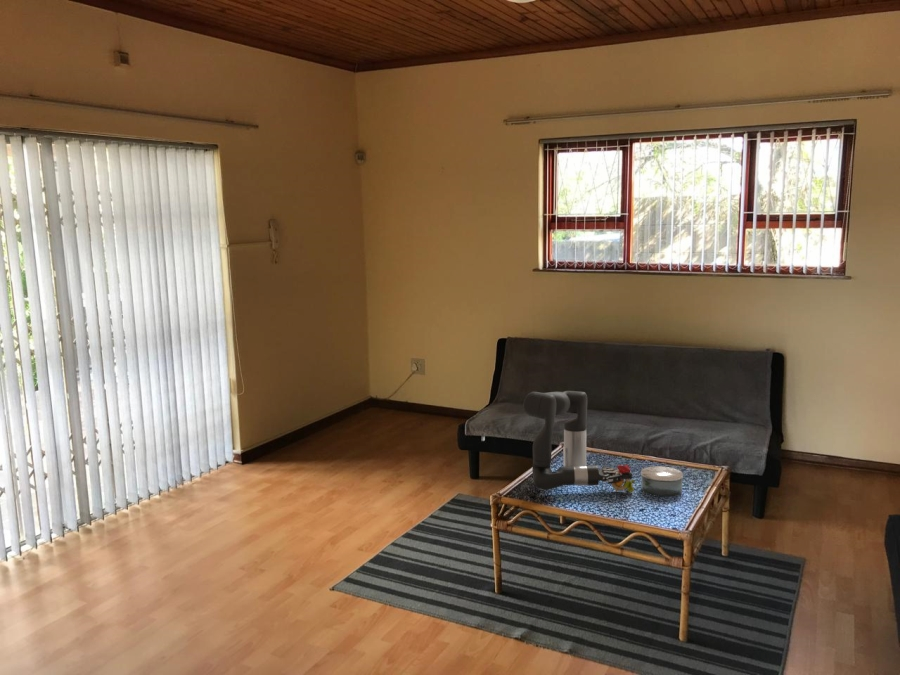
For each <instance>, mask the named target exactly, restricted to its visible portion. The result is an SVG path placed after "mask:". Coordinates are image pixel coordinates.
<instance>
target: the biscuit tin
mask: <svg viewBox="0 0 900 675" xmlns="http://www.w3.org/2000/svg"><path fill="white" fill-rule="evenodd" d="M640 474H641V485H640V486H641V491H642V492H643V491H644V492H643V493H644V494H646V495H649V494H651V495H650V496H653V495H655V496H654V497H659V496H661V498H671V497H673V498H674V497H678V496H680V495H681V494H682V493H683V477H684V473H683V472H682V470H679V469H677V468H674V467H668V466H661V465H659V466H648V467H643V468H642V469H641V471H640Z"/></svg>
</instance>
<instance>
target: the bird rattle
mask: <svg viewBox="0 0 900 675" xmlns="http://www.w3.org/2000/svg"><path fill="white" fill-rule="evenodd" d="M616 468H617V470H619V472H616V473H629V472H630V473H631V469H630V467H629V465H628V464H625V465H621V464H620V465H619V464H618V465H617V466H616ZM617 478H618V477H617ZM635 482H636V481H635V480H634V479H632V480H630V479H622V480H621V482H616V483H612V484H610V485H611V487H612V488H613V489H614V491H615V492H616V491H617V492H619V491H625V490H626V489H627V492H628V493H630V492H631V493H632V492H634V491H635V489H634V487H633V484H635Z"/></svg>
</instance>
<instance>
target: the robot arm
mask: <svg viewBox="0 0 900 675" xmlns="http://www.w3.org/2000/svg"><path fill="white" fill-rule="evenodd" d="M588 399H589V398H588V395H587V393H586V392H585V391H575V390H564V391H550V392H538V391H531V392H529V393H528V394H526V396H525V398H524V400H523V403H522V405H523V406H522V407H523V411H524V412H525V414H526V415H527V416H529V417H532V418H538V419H543V420H544V425H543V427H542V429H541V430H540V431H539V432H538V434H537V435H536V437H535V438H534V439H533V443H532V479H533V484H534V486H535V487H536V488H538V489H540V490H551V489H555V488H559V487H562V486H580V487H582V486H599V484H600V481H601V482H604V483H605V482H606V483H607V484H608V485H611V484H612V483H616V482H621V480H622V479H624V480H625V479H629V480H630V479H632V478H633V474H632V472H631V471H630V472H629V473H616V472H619V470H618V468H617V467H610V466H609V467H608V466H602V467H601V468H600V469H599V467H598V465H597V464H596V465H595V464H593V465H589V464H588V465H587V425H588V424H587V421H588ZM566 413H568V414H577V416H576V417H575V418H572V419H568V420H565V422H564V423H563V445H562V446H563V449H562V450H563V451H562V454H563V455H562V456H563V457H562V458H563V461H562V462H563V466H564V467H563V466H560V467H558V469H557V472H552V471H551V463H552V442H553V441H552V439H553V435H554V434H553V433H554V430H555V429H554V428H555V420H556V416H561V415H564V414H566ZM617 477H618V478H617ZM632 480H633V479H632Z"/></svg>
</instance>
